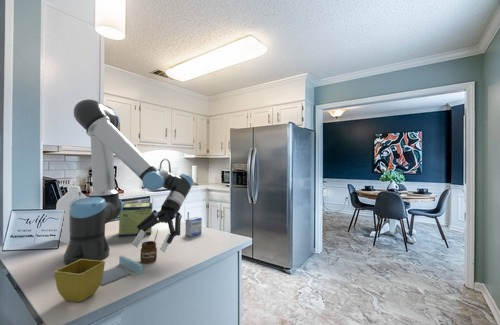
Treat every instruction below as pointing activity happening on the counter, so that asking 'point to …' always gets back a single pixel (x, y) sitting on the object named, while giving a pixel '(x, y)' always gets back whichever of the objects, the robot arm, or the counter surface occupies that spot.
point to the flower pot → (79, 279)
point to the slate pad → (113, 275)
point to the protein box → (133, 218)
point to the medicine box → (193, 226)
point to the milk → (68, 209)
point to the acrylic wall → (131, 264)
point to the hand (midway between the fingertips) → (147, 248)
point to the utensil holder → (148, 251)
